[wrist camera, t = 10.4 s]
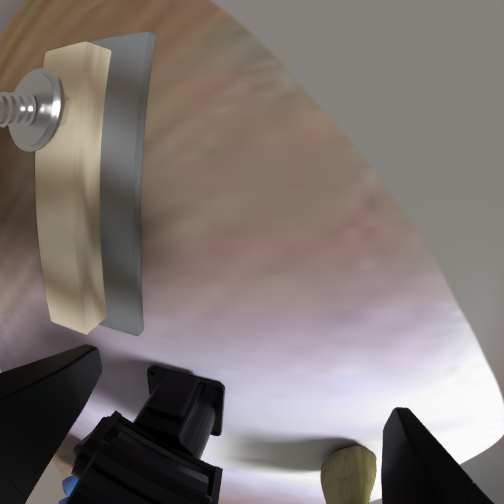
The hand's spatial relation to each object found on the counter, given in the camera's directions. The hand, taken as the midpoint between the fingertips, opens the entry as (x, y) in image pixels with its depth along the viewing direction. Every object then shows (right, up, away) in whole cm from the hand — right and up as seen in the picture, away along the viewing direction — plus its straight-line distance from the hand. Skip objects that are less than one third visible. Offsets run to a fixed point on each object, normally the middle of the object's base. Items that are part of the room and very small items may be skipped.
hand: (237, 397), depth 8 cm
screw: (-11, +13, +7) cm, 18 cm away
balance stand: (-11, +9, +12) cm, 19 cm away
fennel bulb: (+9, -15, +16) cm, 24 cm away
